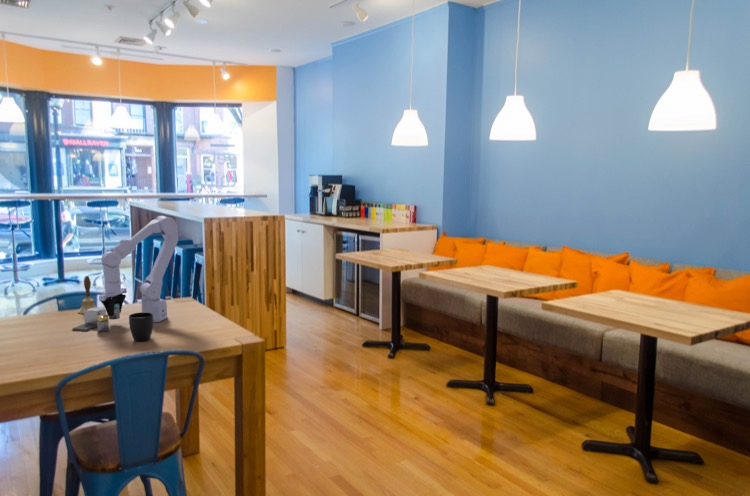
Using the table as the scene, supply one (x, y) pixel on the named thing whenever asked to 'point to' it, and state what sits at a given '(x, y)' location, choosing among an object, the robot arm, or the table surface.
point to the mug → (141, 326)
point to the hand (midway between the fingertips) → (114, 314)
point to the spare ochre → (102, 324)
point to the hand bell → (87, 297)
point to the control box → (93, 315)
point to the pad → (84, 327)
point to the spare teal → (116, 312)
